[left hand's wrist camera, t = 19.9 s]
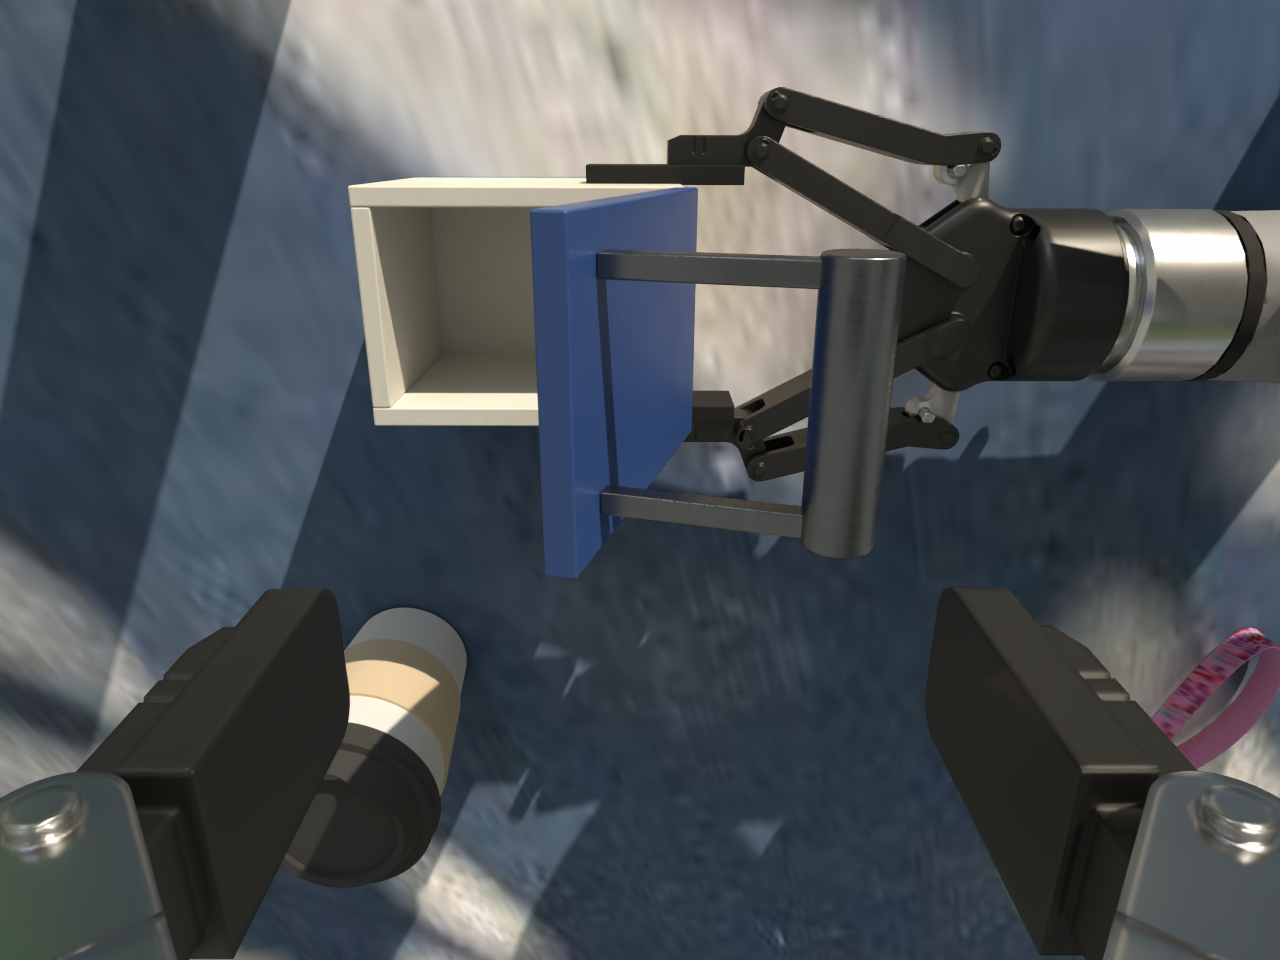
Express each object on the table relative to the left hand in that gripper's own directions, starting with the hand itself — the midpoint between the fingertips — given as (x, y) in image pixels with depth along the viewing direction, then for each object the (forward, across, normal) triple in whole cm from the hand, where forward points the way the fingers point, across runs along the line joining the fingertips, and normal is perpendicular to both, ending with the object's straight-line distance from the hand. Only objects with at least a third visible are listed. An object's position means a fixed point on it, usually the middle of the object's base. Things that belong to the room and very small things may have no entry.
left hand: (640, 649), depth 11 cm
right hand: (+29, -2, 0) cm, 29 cm away
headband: (+36, +35, -26) cm, 56 cm away
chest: (+36, -5, 0) cm, 36 cm away
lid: (+18, -1, 0) cm, 18 cm away
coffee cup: (+36, -14, -23) cm, 45 cm away
